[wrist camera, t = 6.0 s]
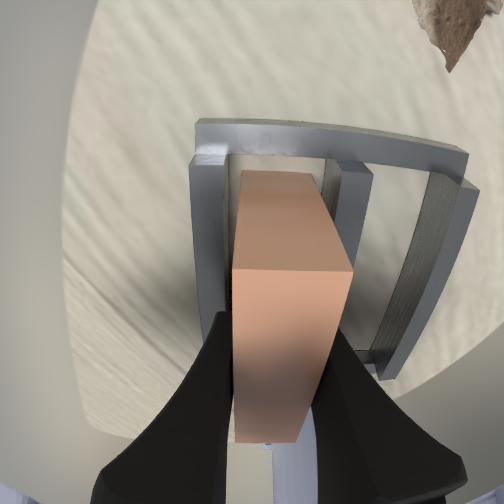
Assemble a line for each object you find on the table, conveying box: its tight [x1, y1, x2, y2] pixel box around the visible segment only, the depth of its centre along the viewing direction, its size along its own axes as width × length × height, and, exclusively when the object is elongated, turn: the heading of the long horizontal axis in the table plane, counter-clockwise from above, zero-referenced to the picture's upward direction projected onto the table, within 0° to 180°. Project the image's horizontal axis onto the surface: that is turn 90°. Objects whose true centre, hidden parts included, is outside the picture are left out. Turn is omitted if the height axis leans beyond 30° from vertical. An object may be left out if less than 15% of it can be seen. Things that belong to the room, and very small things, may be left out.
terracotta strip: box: [232, 170, 354, 443], centre depth 11 cm, size 9×2×6 cm, turn 178°
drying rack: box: [189, 119, 480, 381], centre depth 13 cm, size 13×10×2 cm
